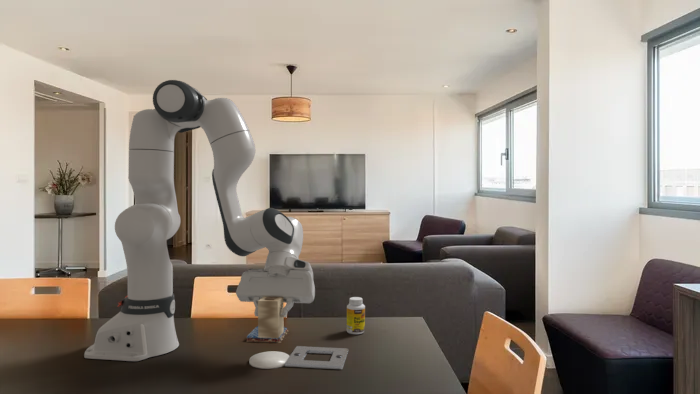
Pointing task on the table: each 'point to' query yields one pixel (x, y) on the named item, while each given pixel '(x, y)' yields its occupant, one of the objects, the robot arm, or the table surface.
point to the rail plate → (335, 362)
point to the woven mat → (254, 337)
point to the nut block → (270, 317)
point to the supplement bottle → (355, 316)
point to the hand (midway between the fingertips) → (270, 315)
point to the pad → (268, 360)
